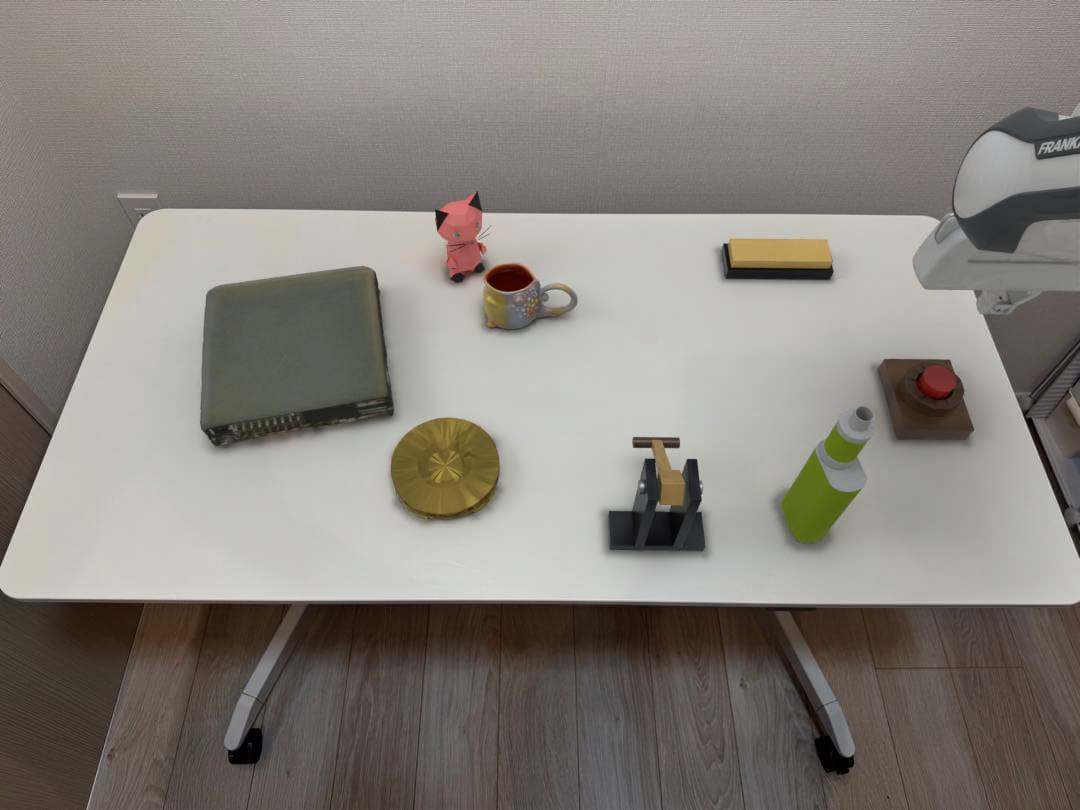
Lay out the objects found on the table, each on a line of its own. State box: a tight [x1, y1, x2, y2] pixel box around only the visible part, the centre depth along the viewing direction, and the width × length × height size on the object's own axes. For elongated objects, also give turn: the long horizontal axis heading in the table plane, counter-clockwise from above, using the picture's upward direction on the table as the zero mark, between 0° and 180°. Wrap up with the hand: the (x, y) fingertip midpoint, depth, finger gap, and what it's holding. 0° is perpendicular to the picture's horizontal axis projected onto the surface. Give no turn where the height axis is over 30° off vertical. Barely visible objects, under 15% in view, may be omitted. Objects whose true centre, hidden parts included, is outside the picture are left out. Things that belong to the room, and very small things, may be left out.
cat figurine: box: [434, 190, 491, 284], centre depth 98 cm, size 7×7×12 cm
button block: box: [877, 358, 975, 441], centre depth 90 cm, size 10×8×4 cm
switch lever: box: [631, 436, 685, 506], centre depth 78 cm, size 12×5×2 cm
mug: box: [482, 262, 579, 330], centre depth 96 cm, size 12×7×7 cm, turn 80°
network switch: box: [199, 265, 395, 447], centre depth 92 cm, size 23×24×5 cm
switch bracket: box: [607, 457, 706, 552], centre depth 77 cm, size 4×10×13 cm, turn 89°
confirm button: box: [918, 366, 956, 399], centre depth 88 cm, size 4×4×2 cm
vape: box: [780, 405, 876, 545], centre depth 75 cm, size 4×6×20 cm, turn 11°
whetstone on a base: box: [720, 238, 835, 281], centre depth 102 cm, size 5×14×3 cm, turn 90°
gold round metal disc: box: [389, 417, 501, 521], centre depth 85 cm, size 12×12×2 cm
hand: (991, 309), depth 77 cm, fingers closed
